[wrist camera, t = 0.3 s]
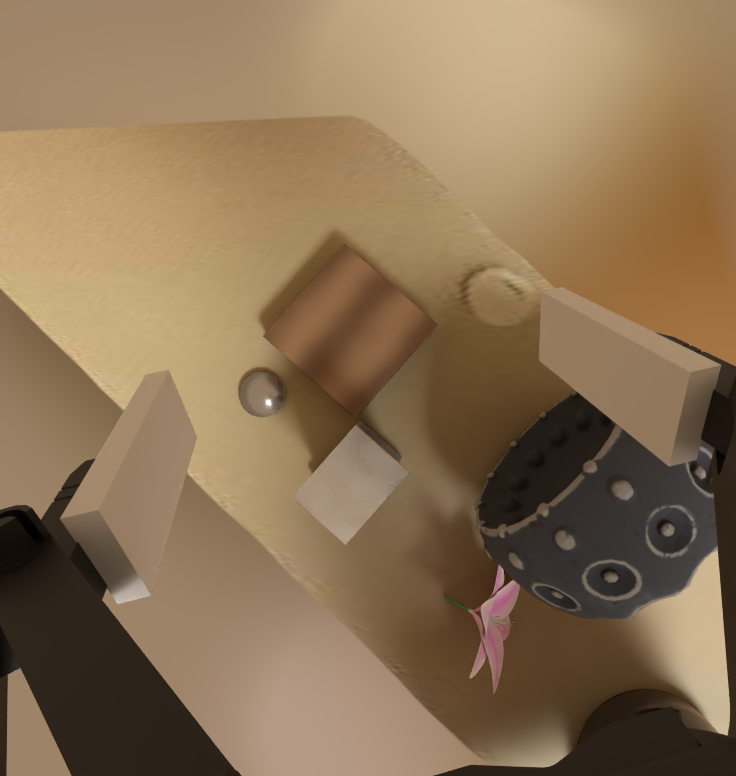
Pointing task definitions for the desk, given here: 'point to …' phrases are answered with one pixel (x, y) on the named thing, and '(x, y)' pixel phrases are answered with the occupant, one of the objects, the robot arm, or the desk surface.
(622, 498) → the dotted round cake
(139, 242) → the desk surface
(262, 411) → the domed puck
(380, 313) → the walnut stand
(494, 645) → the lily
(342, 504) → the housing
